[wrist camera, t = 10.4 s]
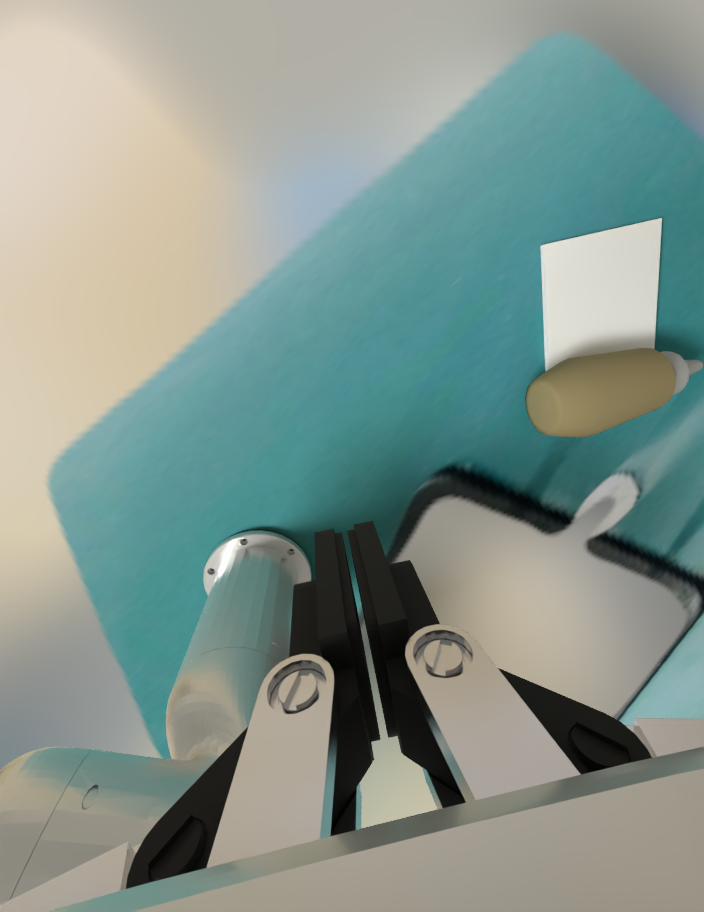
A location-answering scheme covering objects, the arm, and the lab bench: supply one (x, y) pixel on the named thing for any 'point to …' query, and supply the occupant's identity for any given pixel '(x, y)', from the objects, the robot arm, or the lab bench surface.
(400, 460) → the lab bench surface
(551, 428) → the squeeze bottle
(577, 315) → the mat
